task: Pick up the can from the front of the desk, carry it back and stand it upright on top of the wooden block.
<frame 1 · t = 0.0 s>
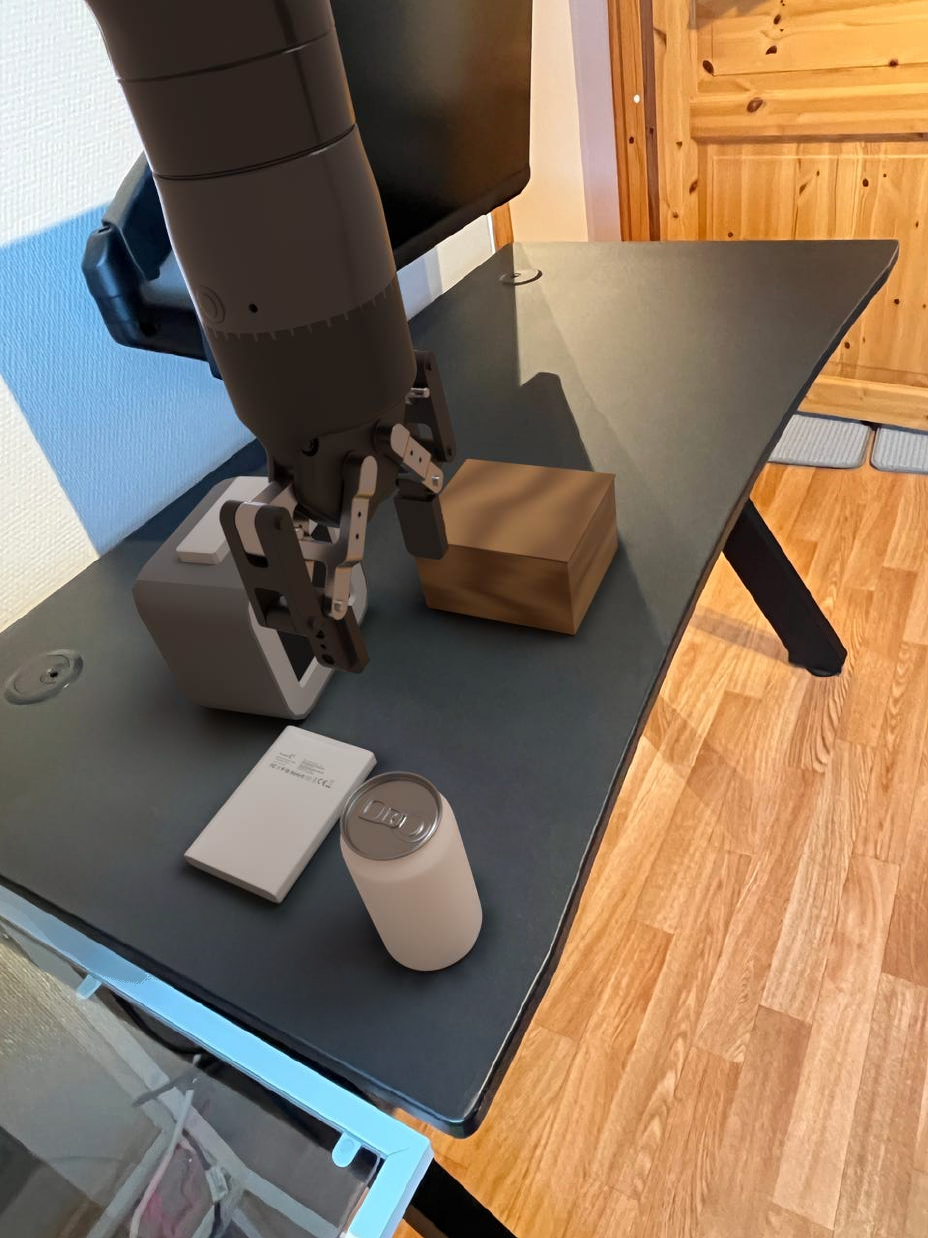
hand: (391, 606, 42), 22 cm above the table, tool pointing down, fingers open, 8 cm apart
hard drive: (288, 815, 61), on the table
alarm clock: (283, 657, 74), on the table
wooden block: (523, 577, 76), on the table
can: (433, 925, 53), on the table
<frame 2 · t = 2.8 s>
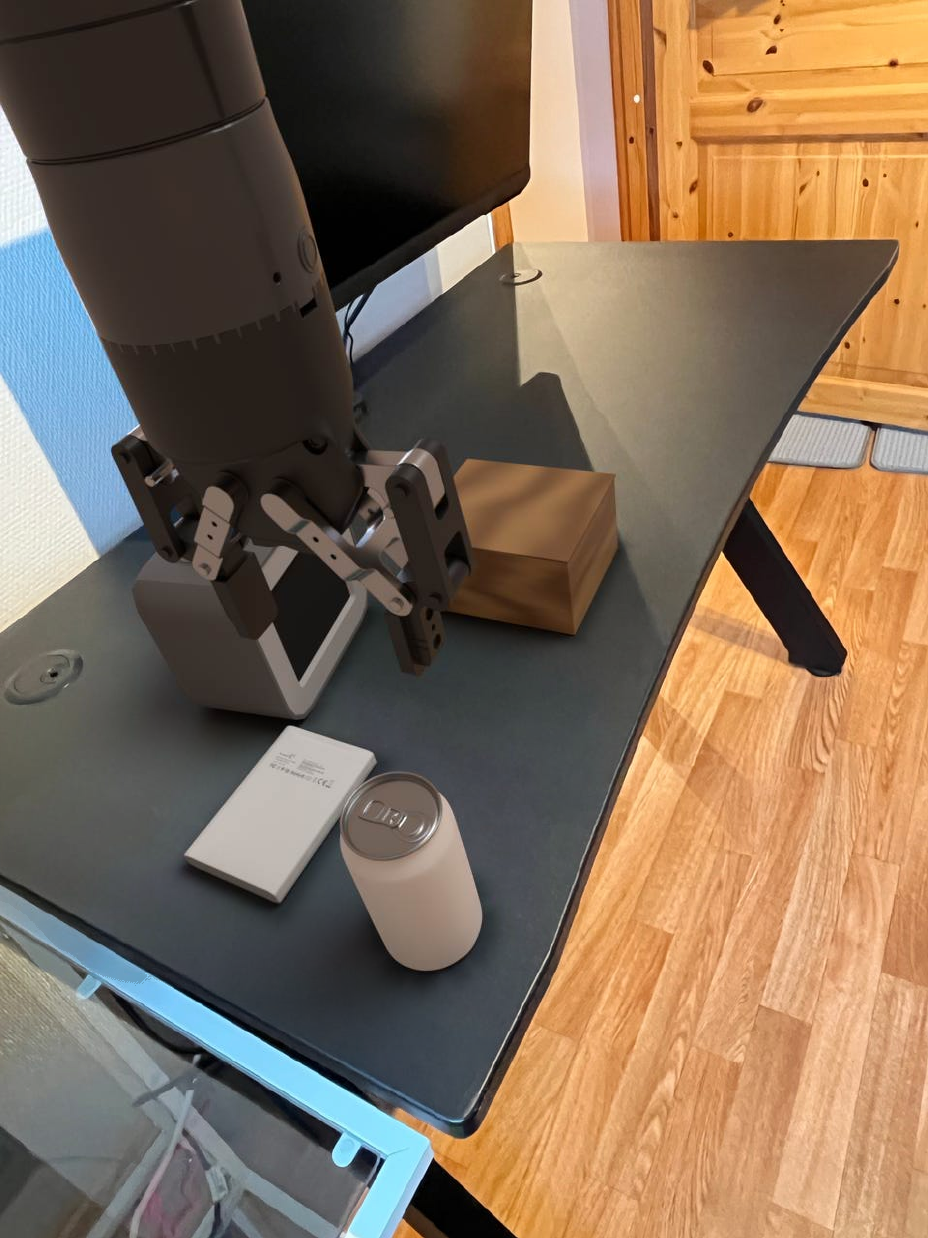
hand: (338, 643, 38), 24 cm above the table, tool pointing down, fingers open, 8 cm apart
nothing on the table moved.
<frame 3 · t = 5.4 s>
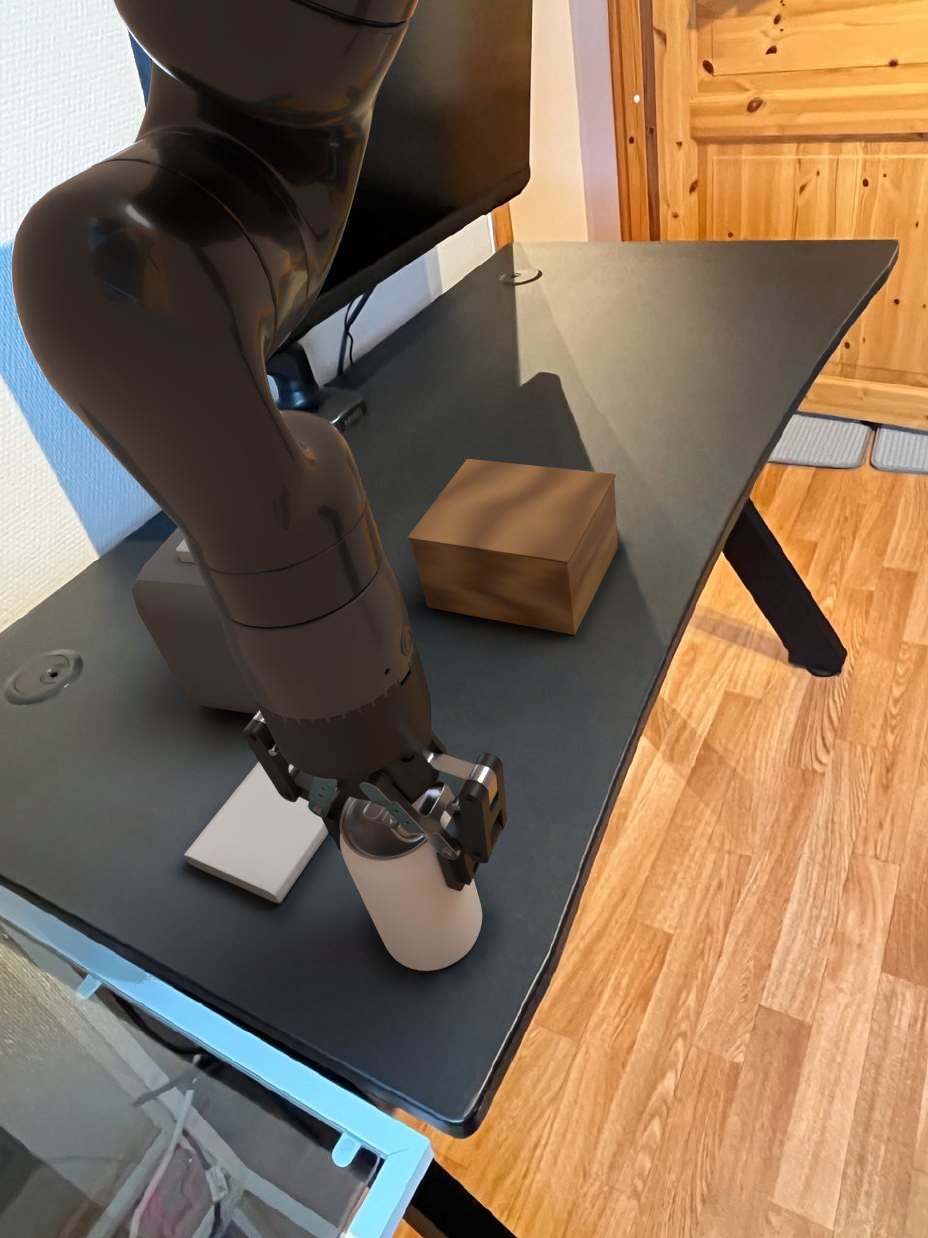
hand: (407, 857, 48), 8 cm above the table, tool pointing down, fingers closed on can, 6 cm apart
can: (433, 925, 53), on the table, touching gripper
everything else where it was.
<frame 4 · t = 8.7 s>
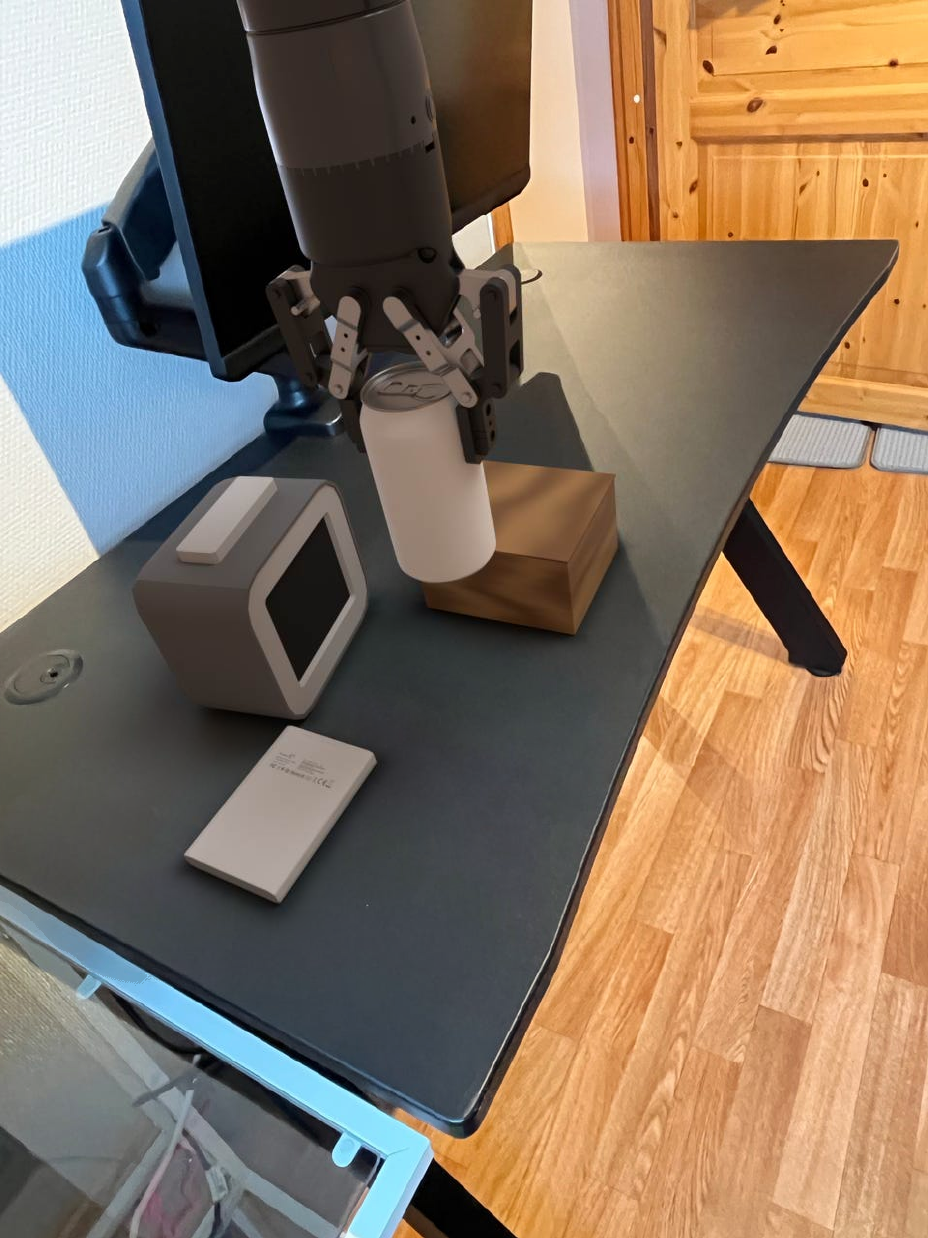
hand: (424, 450, 49), 24 cm above the table, tool pointing down, fingers closed on can, 6 cm apart
can: (448, 557, 54), point 16 cm above the table, touching gripper
everything else where it was.
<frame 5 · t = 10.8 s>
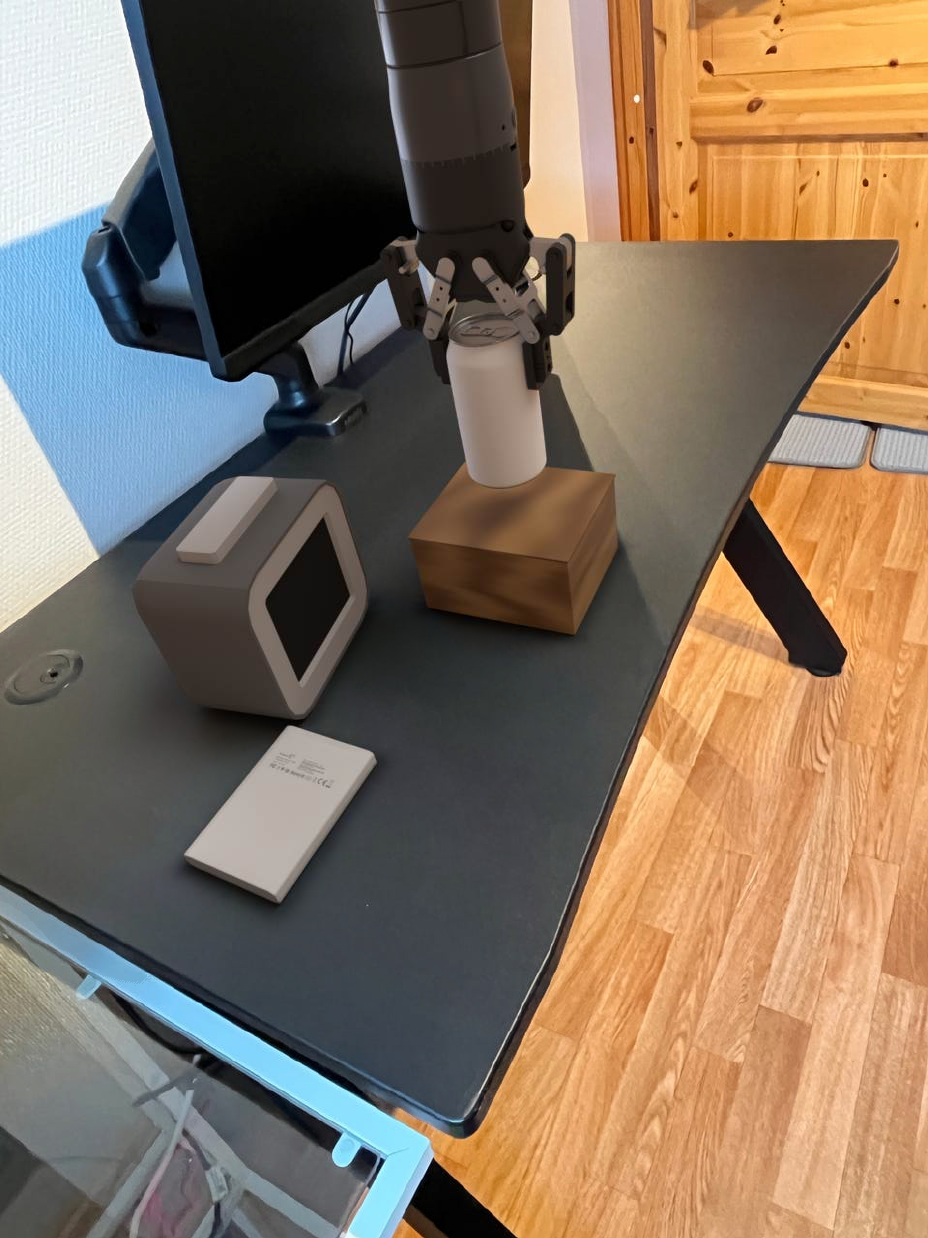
hand: (494, 381, 64), 19 cm above the table, tool pointing down, fingers closed on can, 6 cm apart
can: (508, 470, 69), point 11 cm above the table, touching gripper
everything else where it was.
when the fingers open (16 cm above the table, at t = 12.3 s): can stays where it is, resting on wooden block.
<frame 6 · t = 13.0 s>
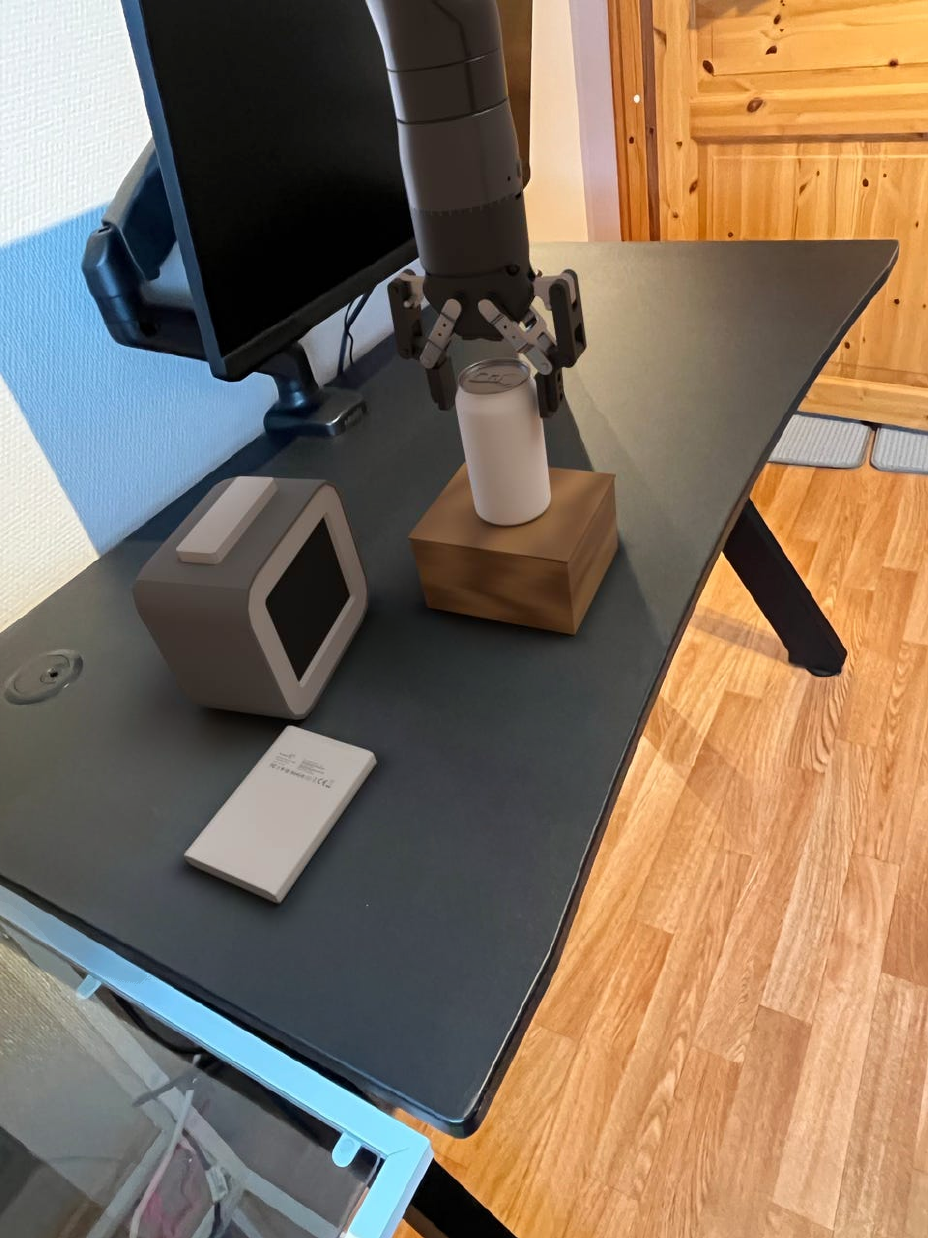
hand: (498, 409, 65), 17 cm above the table, tool pointing down, fingers open, 8 cm apart
can: (513, 507, 71), point 8 cm above the table, touching wooden block
everything else where it was.
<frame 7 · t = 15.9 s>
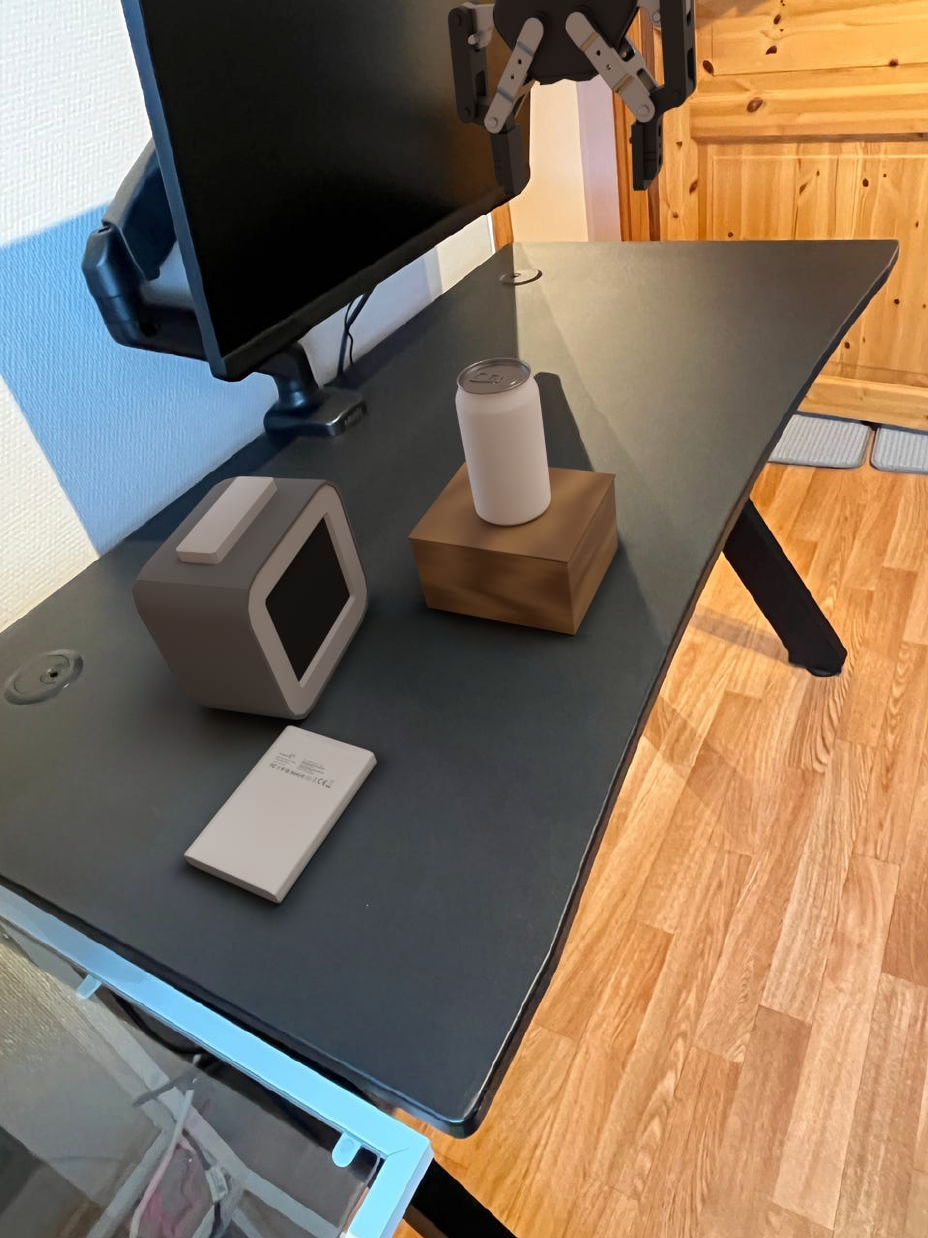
hand: (578, 189, 54), 32 cm above the table, tool pointing down, fingers open, 8 cm apart
nothing on the table moved.
at the end: can inside the target area on the wooden block (0.1 cm from its centre), point 7.8 cm above the wooden block's base; can tilted 0°; the gripper is holding nothing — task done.
